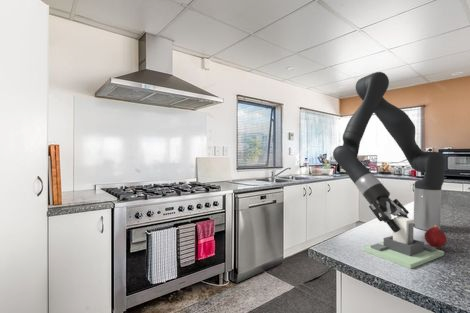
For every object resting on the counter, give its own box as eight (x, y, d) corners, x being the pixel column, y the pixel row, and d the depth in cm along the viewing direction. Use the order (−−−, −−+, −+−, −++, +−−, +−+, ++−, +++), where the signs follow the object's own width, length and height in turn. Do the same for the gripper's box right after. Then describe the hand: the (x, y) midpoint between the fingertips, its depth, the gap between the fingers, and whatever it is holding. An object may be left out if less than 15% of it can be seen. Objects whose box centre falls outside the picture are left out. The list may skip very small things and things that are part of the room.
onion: (450, 252, 80) (451, 228, 80) (430, 251, 81) (431, 227, 81) (439, 246, 86) (440, 223, 86) (420, 244, 87) (421, 222, 87)
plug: (399, 246, 82) (400, 216, 82) (415, 251, 78) (415, 219, 78) (392, 248, 80) (393, 217, 80) (407, 253, 76) (408, 221, 76)
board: (397, 240, 90) (397, 229, 90) (444, 255, 78) (444, 242, 78) (363, 250, 81) (363, 238, 81) (410, 268, 68) (410, 253, 68)
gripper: (366, 183, 83) (402, 226, 73) (390, 181, 90) (426, 220, 80) (352, 196, 88) (383, 238, 78) (376, 193, 94) (408, 231, 85)
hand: (405, 229), depth 79 cm, fingers open, 8 cm apart
